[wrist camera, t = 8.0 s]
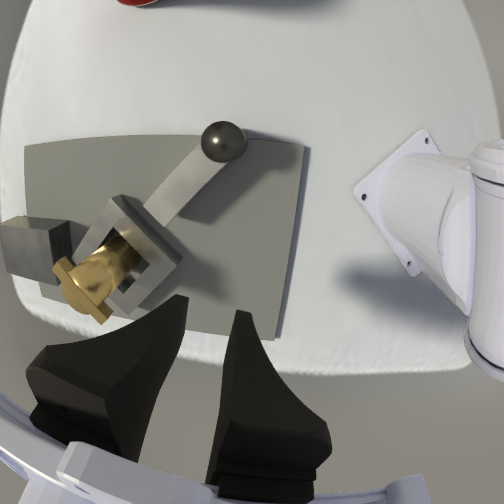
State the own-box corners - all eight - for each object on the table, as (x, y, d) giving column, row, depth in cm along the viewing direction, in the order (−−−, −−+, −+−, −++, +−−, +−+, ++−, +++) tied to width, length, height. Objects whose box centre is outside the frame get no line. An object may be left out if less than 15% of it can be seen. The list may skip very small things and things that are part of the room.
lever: (255, 143, 18) (252, 142, 15) (177, 219, 20) (161, 233, 17) (230, 118, 17) (222, 112, 14) (154, 196, 19) (135, 206, 16)
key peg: (155, 263, 21) (115, 311, 15) (134, 283, 22) (94, 331, 16) (116, 219, 20) (63, 251, 14) (97, 242, 21) (46, 278, 15)
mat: (303, 145, 18) (304, 145, 18) (274, 337, 24) (274, 340, 24) (27, 145, 18) (24, 146, 18) (44, 294, 24) (42, 296, 24)
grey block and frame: (183, 257, 21) (171, 274, 18) (101, 342, 25) (88, 360, 22) (60, 127, 18) (37, 128, 15) (9, 240, 22) (-9, 249, 19)
